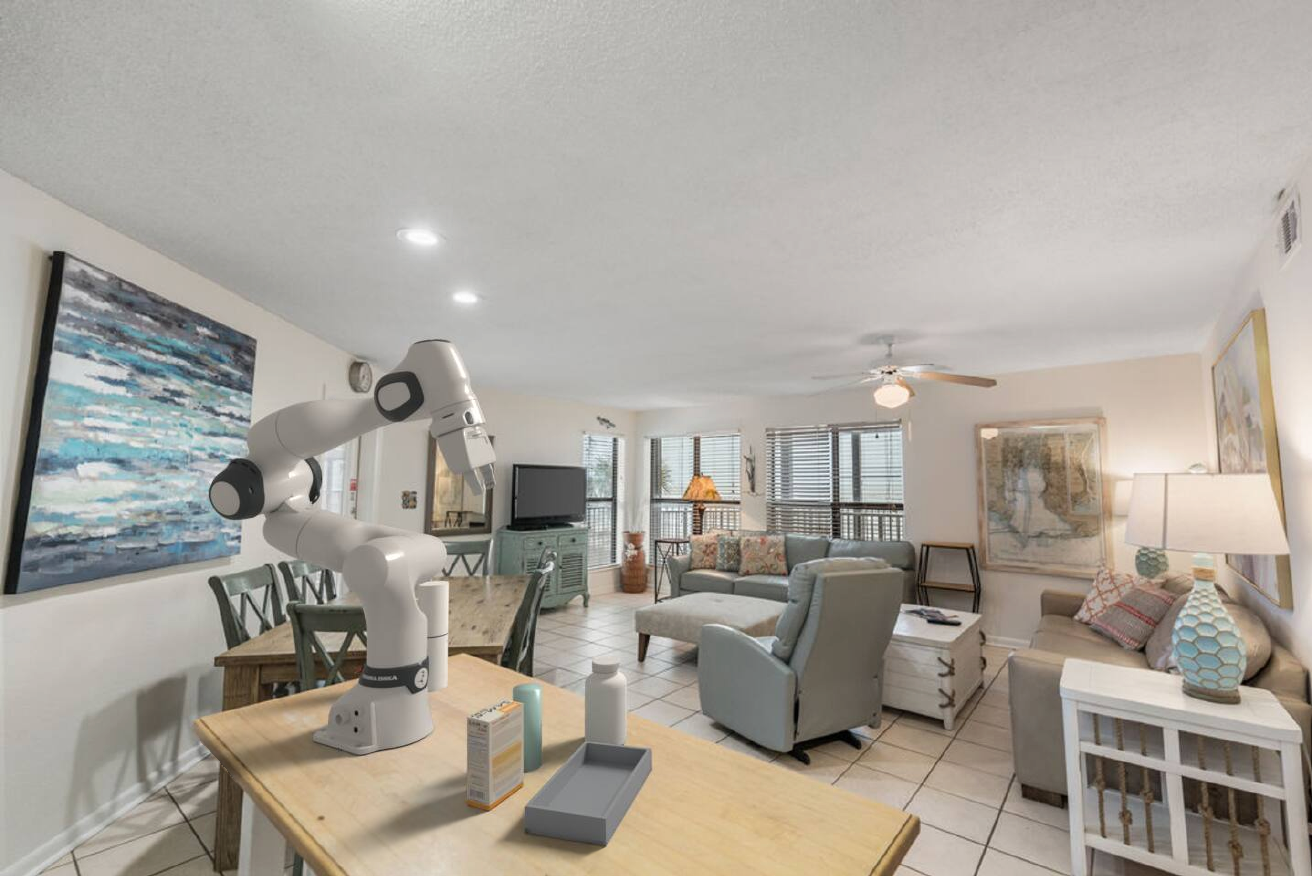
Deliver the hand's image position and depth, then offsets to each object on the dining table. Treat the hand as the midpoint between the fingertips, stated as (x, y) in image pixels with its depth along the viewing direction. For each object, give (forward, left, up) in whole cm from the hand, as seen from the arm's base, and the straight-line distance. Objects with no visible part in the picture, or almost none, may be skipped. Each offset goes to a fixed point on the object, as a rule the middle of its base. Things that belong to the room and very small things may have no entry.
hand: (485, 491), depth 106 cm
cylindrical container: (-34, +29, -48) cm, 65 cm away
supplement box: (+9, -11, -48) cm, 50 cm away
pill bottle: (+19, +11, -48) cm, 53 cm away
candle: (+9, -1, -48) cm, 49 cm away
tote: (+25, -8, -48) cm, 54 cm away
